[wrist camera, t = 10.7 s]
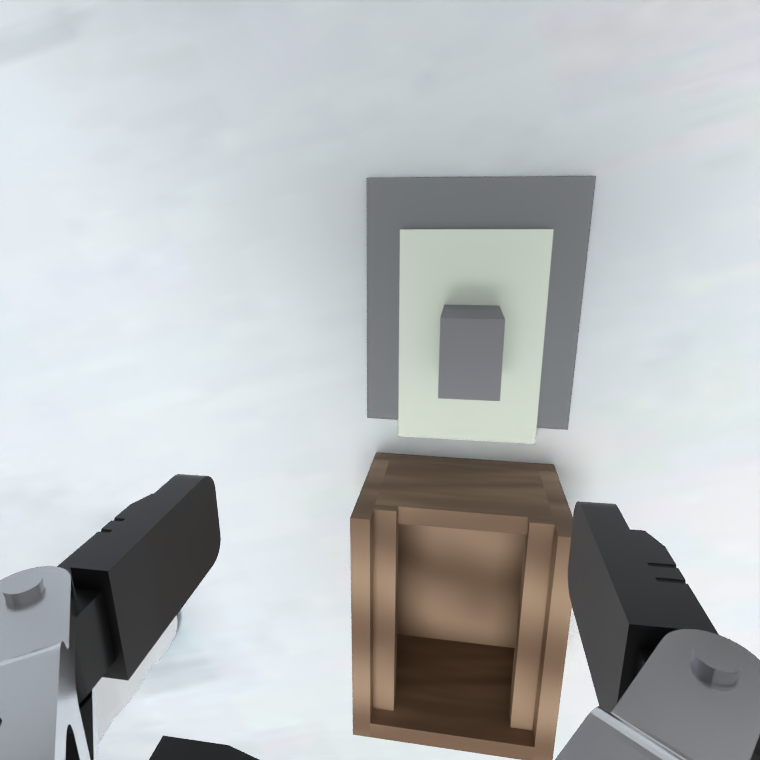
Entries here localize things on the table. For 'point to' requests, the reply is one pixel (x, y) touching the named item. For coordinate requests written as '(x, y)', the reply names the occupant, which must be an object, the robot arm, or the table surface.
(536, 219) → the mat
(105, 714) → the water bottle
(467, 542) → the box
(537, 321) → the lid
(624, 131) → the table surface
